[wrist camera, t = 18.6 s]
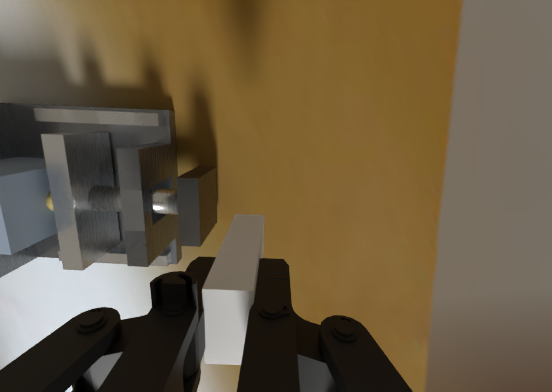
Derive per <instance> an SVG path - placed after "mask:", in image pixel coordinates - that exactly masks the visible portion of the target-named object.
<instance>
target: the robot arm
mask: <svg viewBox="0 0 552 392" xmlns="http://www.w3.org/2000/svg"><path fill="white" fill-rule="evenodd" d="M263 239H264V215H249V214H235V216H234V218H233V220H232V223H231V225H230V227H229V229H228V232H227V234H226V236H225V238H224V241H223V243H222V245H221V247H220V250H219V252H218V254H217V256H216V257H198V258H196V259H195V260H194V261H192V262H191V263H190V264H189V266H188V268H187V269H186V271H185V272H182V271H178V272H169V273H166V274H162V275H160V276H158V277H156V278H155V279H154V280H152V281H151V282H150V289H151V300H152V308H151V310H150V311H149V313H148V314H147V315H144V316H140V317H135V318H129V319H124V320H121V319H120V314H119V313H118V311H117V310H115V309H113V308H106V307H101V308H95V309H91V310H88V311H86V312H83V313H81V314H79V315H77V316H76V317H74V318H72V319H71V320H69V321H68V322H67V323H65V324H64V325H62V326H61V327H60V328H58V329H57V330H55V331H54V332H53V333H51V334H50V335H48V336H47V337H46V338H44V339H43V340H41V341H40V342H39V343H37V344H36V345H35V346H33V347H32V348H30V349H29V350H28V351H26V352H25V353H23V354H22V355H21V356H19V357H18V358H16V359H15V360H14V361H12V362H11V363H9V364H8V365H7V366H5V367H4V368H3V369H1V370H0V392H65V391H66V390H67V389H68V388H69V387H70V386H71V385H72V388H73V391H72V392H197V388H198V385H199V382H200V375H201V368H200V363H201V360H202V357H203V354H204V358H205V364H228V365H241V368H240V375H239V381H238V388H237V392H412V390H411V389H410V387H409V386H408V385H407V383H406V382H405V381H404V379H403V378H402V377H401V375H400V374H399V373H398V371H397V370H396V368H395V367H394V366H393V364H392V363H391V362H390V360H389V359H388V358H387V356H386V355H385V354H384V352H383V351H382V349H381V348H380V347H379V345H378V344H377V343H376V341H375V340H374V339H373V337H372V336H371V335H370V333H369V332H368V330H367V329H366V328H365V327H364V326H363V325H362V324H361V323H360V322H358V321H356V320H354V319H353V318H350V317H346V316H338V315H334V316H330V317H327V318H326V319H324V320H323V321H322V322H321V325H318V324H315V323H311V322H309V321H306V320H304V319H302V318H301V317H299V316H298V315H297V314H296V313H295V312H294V310H293V308H292V304H291V290H290V275H289V265H288V264H287V263H286V262H285V260H284V259H268V258H263Z"/></svg>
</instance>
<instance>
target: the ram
mask: <svg viewBox="0 0 552 392" xmlns="http://www.w3.org/2000/svg"><path fill="white" fill-rule="evenodd" d="M41 138H42V144H43V150H44V156H45V162H46V168H47V174H48V180H49V186H50V192H51V198H52V204H53V210H54V216H55V222H56V228H57V234H58V240H59V246H60V252H61V257H62V263H63V269H67V270H84V269H86V268H87V267H88V266H90V265H91V264H92V263H94V262H95V261H97V260H98V259H99V258H101V257H102V256H103V255H105V254H106V253H107V252H109V251H110V250H112V249H113V248H114V247H116V246H117V245H118V244H120V243H121V242H120V232H119V223H118V214H117V212H122V203H121V193H120V186H114V176H113V167H112V158H111V148H110V139H109V132H74V133H52V134H41ZM176 181H177V189H163V188H150V195H151V208H152V213H157V214H177V215H178V221H179V242H180V246H198V247H200V246H201V245H202V243H203V242H204V240H205V239H206V237H207V236H208V235H209V233H210V232H211V230H212V229H213V227H214V226H215V224H216V223H217V173H216V167H207V166H198V167H196V168H194V169H192V170H190V171H188V172H186V173H184V174H183V175H181V176H179V177H177V178H176Z"/></svg>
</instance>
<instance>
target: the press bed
mask: <svg viewBox="0 0 552 392" xmlns="http://www.w3.org/2000/svg"><path fill="white" fill-rule="evenodd" d="M74 132H109V139H110V148H111V158H112V167H113V176H114V186H120V193H121V203H122V212H117V214H118V223H119V232H120V242H121V243H120V244H118V245H117V246H116V247H114V248H113V249H112V250H110V251H109V252H107V253H106V254H105V255H103V256H102V257H101V258H99V259H98V260H97V261H95V262H96V263H114V264H128V266H140V267H148V266H149V265H152V266H168V265H169V264H178V262H179V261H180V260H181V246H180V242H179V221H178V215H177V214H157V213H152V208H151V195H150V188H163V189H177V181H176V178H177V177H178V175H177V154H176V134H175V113H174V111H171V110H152V109H128V108H105V107H82V106H59V105H35V104H12V103H0V159H7V158H15V157H30V158H45V156H44V150H43V144H42V138H41V134H52V133H74ZM37 257H50V258H59V261H62V257H61V252H60V246H59V240H58V234H57V233H56V234H54V235H51V236H49V237H47V238H45V239H43V240H41V241H39V242H37V243H35V244H33V245H31V246H29V247H27V248H25V249H22V250H20V251H18V252H16V253H14V254H12V255H5V254H0V277H2V276H4V275H6V274H8V273H9V272H11V271H13V270H15V269H17V268H19V267H21V266H22V265H24V264H26V263H28V262H30V261H32V260H33V259H35V258H37Z"/></svg>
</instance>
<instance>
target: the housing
mask: <svg viewBox="0 0 552 392" xmlns="http://www.w3.org/2000/svg"><path fill="white" fill-rule="evenodd" d="M56 233H57V228H56V222H55V216H54V210H53V204H52V198H51V192H50V186H49V180H48V174H47V168H46V162H45V158H30V157H15V158H7V159H0V254H5V255H12V254H14V253H16V252H18V251H20V250H22V249H25V248H27V247H29V246H31V245H33V244H35V243H37V242H39V241H41V240H43V239H45V238H47V237H49V236H51V235H54V234H56Z"/></svg>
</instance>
